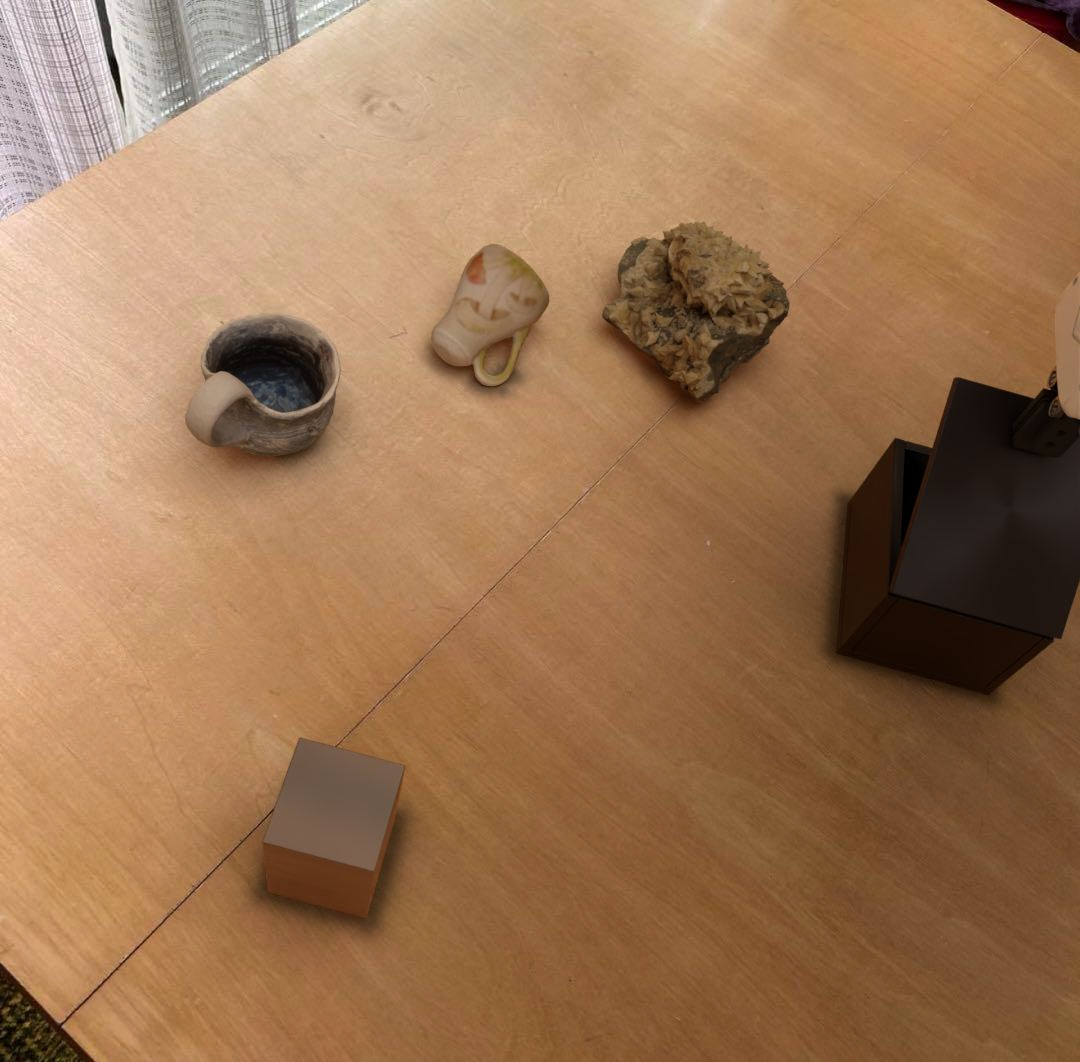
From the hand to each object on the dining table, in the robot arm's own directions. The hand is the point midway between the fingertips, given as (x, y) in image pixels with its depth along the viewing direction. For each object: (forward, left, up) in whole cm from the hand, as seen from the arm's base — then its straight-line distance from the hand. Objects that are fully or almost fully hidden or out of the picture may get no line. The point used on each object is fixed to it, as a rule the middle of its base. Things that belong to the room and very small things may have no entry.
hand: (1034, 442), depth 74 cm
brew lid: (-3, 0, -4) cm, 5 cm away
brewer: (-2, 0, -17) cm, 17 cm away
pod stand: (-32, +36, -17) cm, 51 cm away
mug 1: (-4, +50, -17) cm, 53 cm away
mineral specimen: (+17, +22, -17) cm, 33 cm away
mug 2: (+11, +37, -17) cm, 42 cm away
